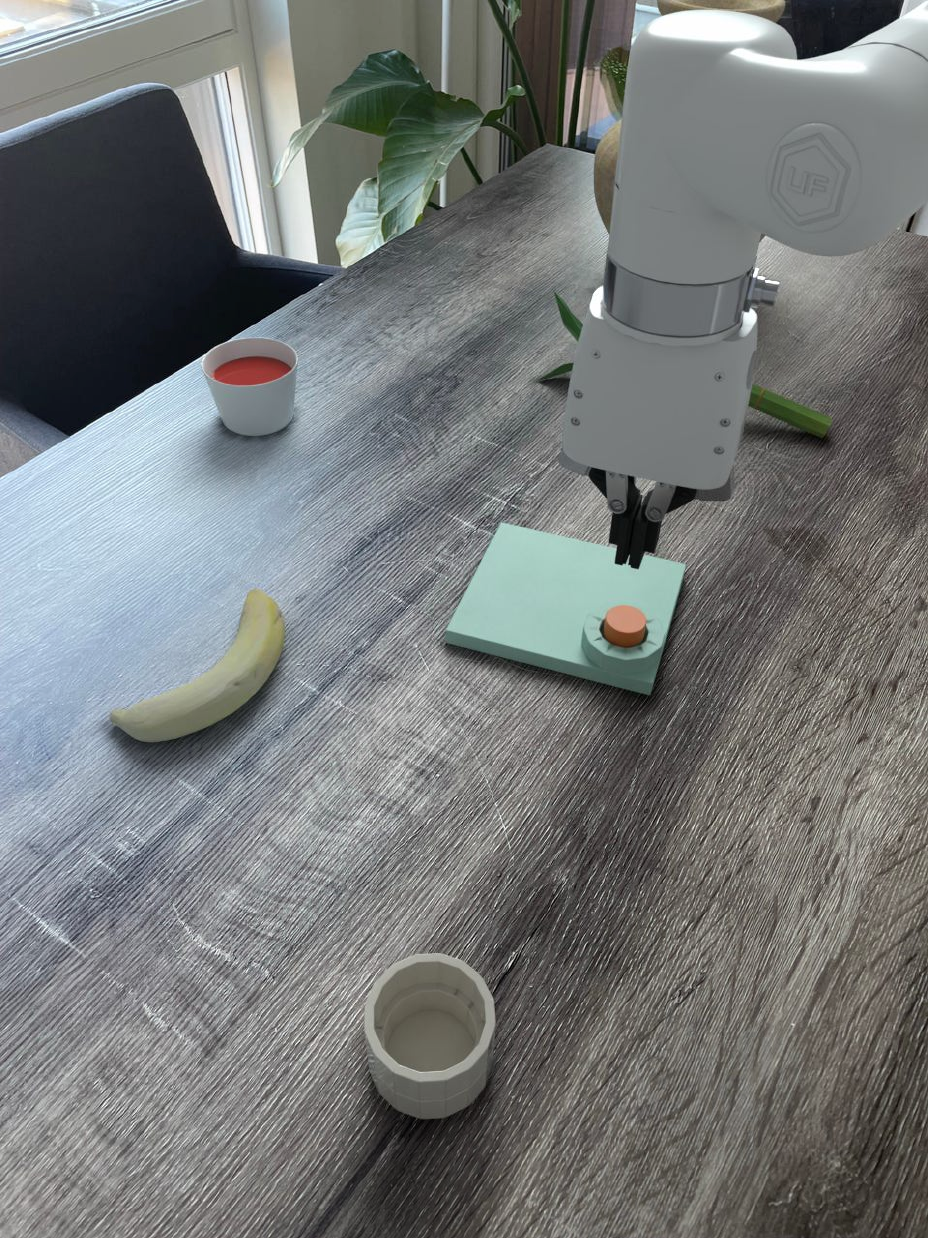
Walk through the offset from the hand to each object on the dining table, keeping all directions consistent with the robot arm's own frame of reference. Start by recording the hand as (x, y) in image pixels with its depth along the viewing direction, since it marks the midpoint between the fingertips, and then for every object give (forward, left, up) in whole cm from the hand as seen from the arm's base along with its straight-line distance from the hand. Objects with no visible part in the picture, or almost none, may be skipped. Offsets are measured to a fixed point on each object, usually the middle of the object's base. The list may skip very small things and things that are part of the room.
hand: (631, 553), depth 65 cm
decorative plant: (+2, -41, -13) cm, 43 cm away
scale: (+5, -7, -13) cm, 15 cm away
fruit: (+28, +9, -13) cm, 32 cm away
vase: (+8, -69, -13) cm, 71 cm away
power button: (0, -3, -10) cm, 10 cm away
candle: (+41, -23, -13) cm, 49 cm away
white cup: (+3, +30, -13) cm, 33 cm away
